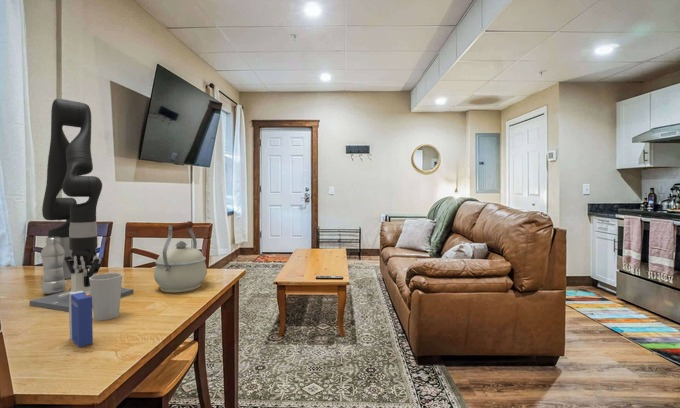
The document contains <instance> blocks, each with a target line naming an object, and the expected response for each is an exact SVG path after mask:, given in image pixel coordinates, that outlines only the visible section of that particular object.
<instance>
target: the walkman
mask: <svg viewBox="0 0 680 408" xmlns="http://www.w3.org/2000/svg"><path fill="white" fill-rule="evenodd" d="M68 314H69V316H68V317H69V319H68V320H69V321H68V322H69V339H70V340H71V341H72V342H73V343H74V344H75V345H76V346H77V347H78V348H82V347H86V346H89V345H91V344H93V343H94V338H93V337H94V335H93V334H94V333H93V332H94V329H93V307H92V297H91V296H90V295H89V294H87V293H85V292H83V291H77V292H71V293H69V312H68Z"/></svg>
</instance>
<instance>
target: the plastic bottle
mask: <svg viewBox="0 0 680 408" xmlns="http://www.w3.org/2000/svg"><path fill="white" fill-rule="evenodd" d="M59 242H60V241H59V237H48V236H47V237H45V244H46V245H45V246H44V247H43V248H42V249H41V252H40V256H41V260H42V261H41V262H42V268H43V269H42V270H43V276H42V282H41V283H42V284H41V291H42V293H43V294H44V295H53V294H57V293H60V292H64V291H66V285H67V284H66V279H64V274H63V260H64V253H65V251H64V249H63V248H62V246H61V245H59Z"/></svg>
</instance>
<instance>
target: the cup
mask: <svg viewBox="0 0 680 408" xmlns="http://www.w3.org/2000/svg"><path fill="white" fill-rule="evenodd" d="M122 280H123V274H122V273H120V272H105V273H100V274H99V273H98V274H97V275H94V276H92V277H90V278H89V281H90V288H91V297H92V306H93V307H92V320H94V321H106V320H111V319H115V318H118V316H120V306H121V298H120V296H121V288H122V282H123V281H122Z"/></svg>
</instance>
